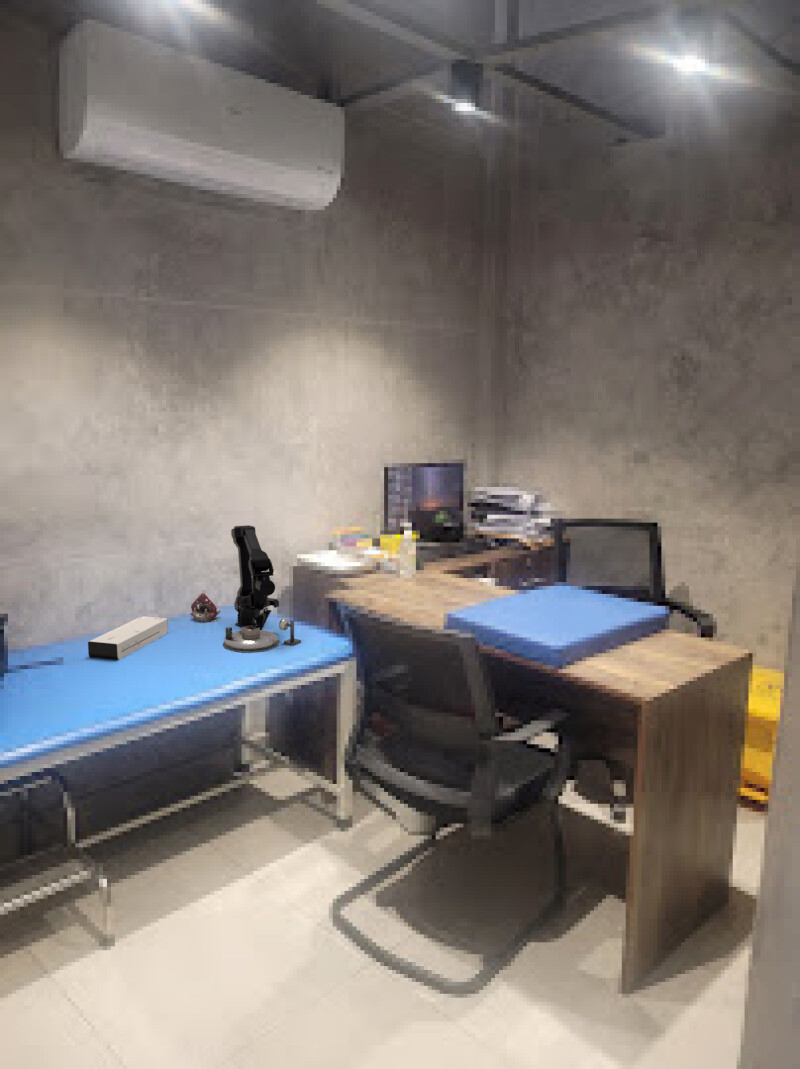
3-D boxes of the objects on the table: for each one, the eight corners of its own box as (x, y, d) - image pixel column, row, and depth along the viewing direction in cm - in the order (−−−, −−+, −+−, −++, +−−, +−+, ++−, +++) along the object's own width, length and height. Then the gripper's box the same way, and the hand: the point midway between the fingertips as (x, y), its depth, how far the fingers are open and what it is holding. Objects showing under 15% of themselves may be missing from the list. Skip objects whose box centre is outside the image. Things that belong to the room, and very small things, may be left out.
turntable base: (250, 632, 314) (250, 631, 314) (290, 642, 303) (290, 641, 303) (211, 645, 297) (211, 644, 297) (251, 656, 286) (251, 655, 286)
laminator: (117, 661, 279) (116, 644, 278) (85, 658, 282) (84, 641, 281) (168, 633, 312) (167, 618, 311) (139, 631, 315) (138, 615, 314)
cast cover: (250, 633, 304) (250, 623, 304) (263, 636, 301) (263, 627, 300) (237, 637, 299) (237, 628, 298) (251, 641, 295) (250, 631, 294)
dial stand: (290, 640, 306) (289, 616, 304) (300, 642, 303) (300, 619, 301) (279, 643, 301) (278, 620, 299) (290, 646, 298) (289, 622, 296)
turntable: (250, 631, 313) (250, 616, 312) (288, 640, 303) (288, 625, 302) (213, 644, 298) (213, 628, 297) (251, 653, 287) (251, 637, 286)
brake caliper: (182, 617, 325) (191, 589, 330) (193, 627, 335) (201, 600, 340) (209, 619, 322) (217, 591, 328) (219, 629, 332) (226, 602, 337)
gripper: (253, 581, 315) (254, 620, 318) (227, 592, 298) (228, 634, 300) (279, 584, 311) (279, 624, 314) (254, 596, 294) (254, 637, 297)
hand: (260, 629), depth 306 cm, fingers closed
